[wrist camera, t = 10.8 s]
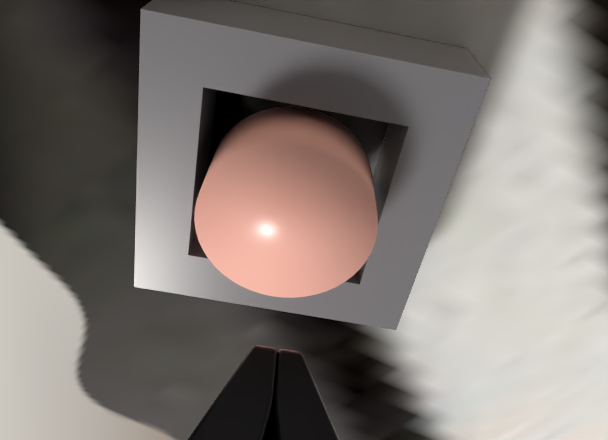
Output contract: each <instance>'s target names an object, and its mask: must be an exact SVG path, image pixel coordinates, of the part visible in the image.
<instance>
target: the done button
mask: <svg viewBox="0 0 608 440" xmlns="http://www.w3.org/2000/svg"><path fill="white" fill-rule="evenodd" d="M194 222H195V229H196V234H197V237H198V240H199V243H200V245H201V247H202V249H203V251H204V253H205V254H206V256H207V257H208V259H209V260H210V261H211V263H212V264H213V265H214V266H215V267H216V268H217V269H218V270H219V271H220V272H221V273H222V274H223V275H225V276H226V277H227V278H229V279H230V280H231V281H233V282H235V283H236V284H238V285H240V286H242V287H244V288H246V289H249V290H251V291H254V292H257V293H260V294H264V295H269V296H274V297H283V298H296V297H306V296H311V295H316V294H319V293H323V292H326V291H328V290H330V289H333V288H335V287H337V286H339V285H340V284H342V283H344V282H345V281H347V280H348V279H349V278H351V277H352V276H353V275H354V274H355V273H356V272H357V271H358V270H359V269H360V268H361V267H362V266H363V265H364V263H365V262H366V261H367V259H368V257H369V256H370V254H371V252H372V250H373V247H374V245H375V241H376V237H377V232H378V216H377V208H376V201H375V194H374V187H373V180H372V173H371V167H370V163H369V160H368V157H367V155H366V152H365V150H364V148H363V147H362V145H361V143H360V142H359V141H358V139H357V138H356V137H355V135H354V134H353V133H352V132H351V131H350V130H349V129H348V128H347V127H345V126H344V125H343V124H341V123H340V122H339V121H337V120H335V119H334V118H332V117H330V116H328V115H326V114H323V113H321V112H318V111H315V110H311V109H307V108H301V107H277V108H270V109H266V110H263V111H260V112H257V113H255V114H252V115H250V116H248V117H247V118H245V119H243V120H241V121H240V122H239V123H237V124H236V125H235V126H234V127H233V128H232V129H231V130H230V131H229V132H228V133H227V134H226V135H225V136H224V138H223V139H222V140H221V142H220V144H219V146H218V148H217V149H216V152H215V154H214V157H213V159H212V162H211V164H210V167H209V169H208V172H207V174H206V177H205V179H204V182H203V184H202V187H201V189H200V192H199V195H198V198H197V201H196V206H195V215H194Z"/></svg>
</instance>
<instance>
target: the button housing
mask: <svg viewBox="0 0 608 440" xmlns="http://www.w3.org/2000/svg"><path fill="white" fill-rule="evenodd" d="M490 80H491V78H490V77H489V76H488V74H487V73H486V72H485V70H484V69H483V68H482V67H481V65H480V64H479V63H478V61H477V60H476V59H475V58H474V56H473V55H472V54H471V52H470V51H469V50H468V49H467V48H462V47H457V46H452V45H447V44H442V43H437V42H432V41H427V40H422V39H417V38H412V37H407V36H402V35H398V34H393V33H388V32H383V31H378V30H373V29H368V28H363V27H358V26H353V25H348V24H343V23H338V22H333V21H328V20H323V19H318V18H314V17H309V16H304V15H299V14H294V13H289V12H284V11H279V10H274V9H269V8H264V7H259V6H254V5H249V4H244V3H239V2H234V1H230V0H152V1H151V2H149V3H148V4H147V5H145V6H144V7H143V8H141V22H140V63H139V105H138V146H137V187H136V229H135V270H134V287H139V288H145V289H151V290H157V291H163V292H169V293H175V294H181V295H188V296H194V297H200V298H206V299H212V300H218V301H224V302H230V303H236V304H242V305H248V306H254V307H260V308H266V309H272V310H278V311H284V312H290V313H296V314H303V315H309V316H315V317H321V318H327V319H333V320H339V321H345V322H351V323H357V324H363V325H369V326H375V327H381V328H387V329H393V330H396V329H397V326H398V323H399V321H400V318H401V315H402V313H403V310H404V307H405V305H406V302H407V299H408V297H409V294H410V292H411V289H412V286H413V284H414V281H415V278H416V276H417V273H418V270H419V268H420V265H421V262H422V260H423V257H424V254H425V252H426V249H427V247H428V244H429V241H430V239H431V236H432V233H433V231H434V228H435V225H436V223H437V220H438V217H439V215H440V212H441V209H442V207H443V204H444V202H445V199H446V196H447V194H448V191H449V188H450V186H451V183H452V180H453V178H454V175H455V172H456V170H457V167H458V164H459V162H460V159H461V157H462V154H463V151H464V149H465V146H466V143H467V141H468V138H469V135H470V133H471V130H472V127H473V125H474V122H475V119H476V117H477V114H478V112H479V109H480V106H481V104H482V101H483V98H484V96H485V93H486V90H487V88H488V85H489V82H490ZM217 90H220V91H226V92H231V93H236V94H241V95H247V96H252V97H257V98H262V99H267V100H273V101H278V102H283V103H288V104H294V105H299V106H304V107H309V108H315V109H320V110H325V111H330V112H335V113H341V114H346V115H351V116H356V117H362V118H367V119H372V120H377V121H383V122H388V123H389V124H388V127H387V131H386V134H385V138H384V141H383V145H382V148H381V152H380V155H379V158H378V162H377V165H376V169H375V172H374V176H373V179H372V180H373V187H374V194H375V201H376V208H377V216H378V232H377V237H376V241H375V245H374V247H373V250H372V252H371V254H370V256H369V257H368V259H367V261H366V262H365V263H364V265H363V266H362V267H361V268H360V269H359V270H358V271H357V272H356V273H355V274H354V275H353V276H352V277H351V278H349V279H348V280H347V281H345V282H344V283H342V284H340V285H339V286H337V287H335V288H333V289H330V290H328V291H326V292H323V293H319V294H316V295H311V296H306V297H296V298H283V297H274V296H269V295H264V294H260V293H257V292H254V291H251V290H249V289H246V288H244V287H242V286H240V285H238V284H236V283H235V282H233V281H231V280H230V279H229V278H227V277H226V276H225V275H223V274H222V273H221V272H220V271H219V270H218V269H217V268H216V267H215V266H214V265H213V264H212V263H211V261H210V260H209V259H208V257H207V256H206V254H205V253H204V251H203V249H202V247H201V245H200V243H199V240H198V237H197V234H196V229H195V222H194V215H195V206H196V201H197V198H198V195H199V192H200V189H201V187H202V184H203V182H204V179H205V177H206V174H207V172H208V169H209V163H210V153H211V144H212V134H213V124H214V115H215V105H216V96H217Z"/></svg>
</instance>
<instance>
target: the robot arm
mask: <svg viewBox="0 0 608 440" xmlns="http://www.w3.org/2000/svg"><path fill="white" fill-rule="evenodd" d="M188 440H339V438H338V435H337V433H336V431H335V428H334V426H333V424H332V421H331V419H330V417H329V414H328V412H327V410H326V407H325V405H324V403H323V401H322V398H321V396H320V394H319V391H318V389H317V387H316V384H315V382H314V380H313V377H312V375H311V373H310V370H309V368H308V366H307V363H306V361H305V359H304V356H303V355H302V353H300V352H298V351H292V350H286V349H280V350H279V351H278V352H277V350H276V349H275V348H273V347H267V346H261V345H255V346H253V347H252V348H251V350H250V351H249V353H248V354H247V356H246V357H245V358H244V360H243V361H242V363H241V364H240V366H239V367H238V368H237V370H236V371H235V373H234V374H233V376H232V377H231V379H230V380H229V381H228V383H227V384H226V386H225V387H224V389H223V390H222V391H221V393H220V394H219V396H218V397H217V399H216V400H215V401H214V403H213V404H212V406H211V407H210V409H209V410H208V411H207V413H206V414H205V416H204V417H203V419H202V420H201V421H200V423H199V424H198V426H197V427H196V429H195V430H194V432H193V433H192V434H191V436H190V437H189V439H188Z"/></svg>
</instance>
